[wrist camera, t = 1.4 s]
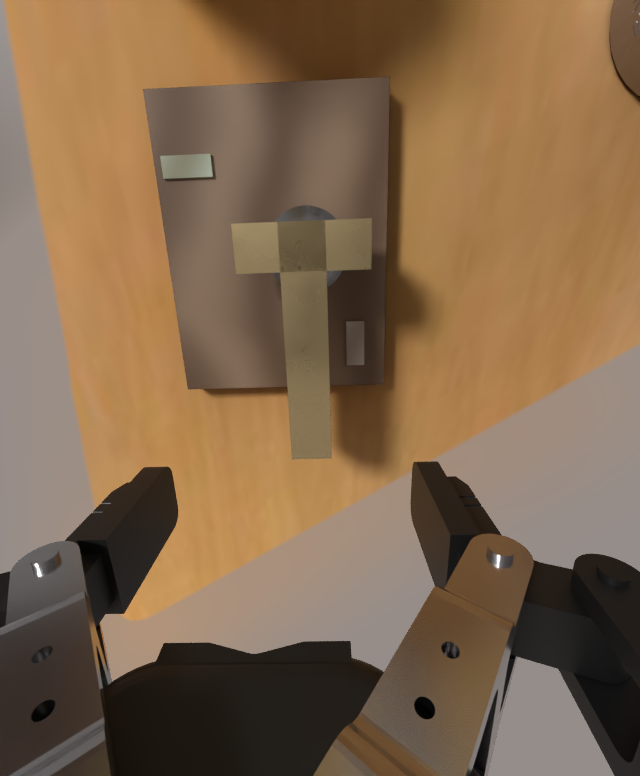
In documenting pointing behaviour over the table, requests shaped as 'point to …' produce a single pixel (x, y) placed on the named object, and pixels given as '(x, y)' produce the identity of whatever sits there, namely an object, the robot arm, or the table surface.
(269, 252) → the t key
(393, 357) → the table surface
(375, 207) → the plate
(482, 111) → the table surface
